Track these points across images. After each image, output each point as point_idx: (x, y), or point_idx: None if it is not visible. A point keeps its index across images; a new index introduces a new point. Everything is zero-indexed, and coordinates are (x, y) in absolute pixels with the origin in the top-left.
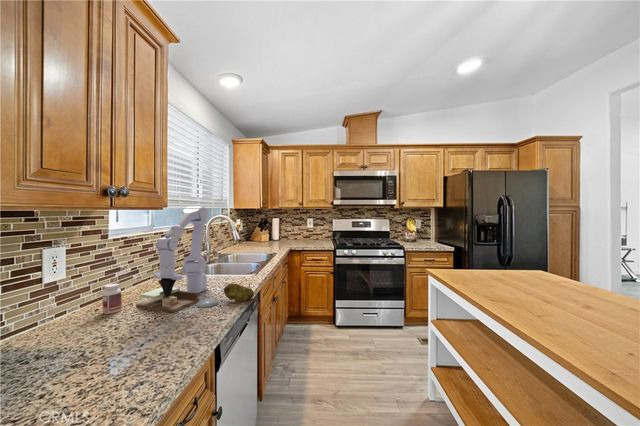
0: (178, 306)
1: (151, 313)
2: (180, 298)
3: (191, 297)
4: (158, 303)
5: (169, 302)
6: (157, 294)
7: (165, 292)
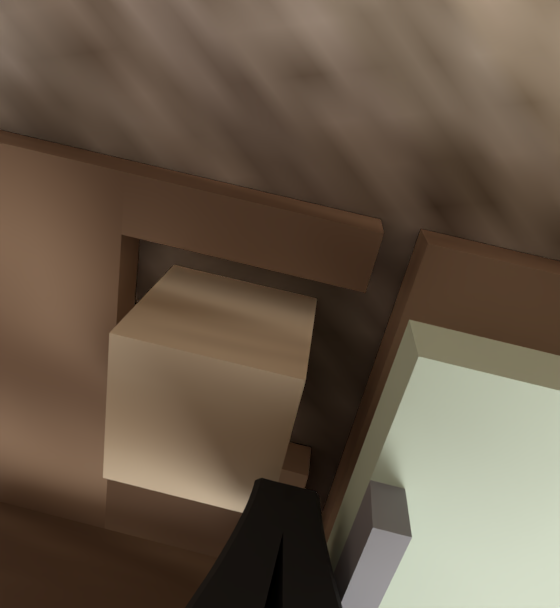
0: (7, 282)
1: (336, 60)
2: None
3: (42, 541)
4: None
5: (130, 315)
6: (463, 489)
7: (266, 540)
